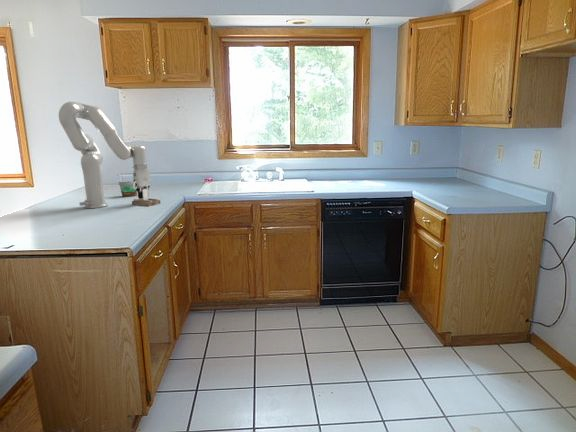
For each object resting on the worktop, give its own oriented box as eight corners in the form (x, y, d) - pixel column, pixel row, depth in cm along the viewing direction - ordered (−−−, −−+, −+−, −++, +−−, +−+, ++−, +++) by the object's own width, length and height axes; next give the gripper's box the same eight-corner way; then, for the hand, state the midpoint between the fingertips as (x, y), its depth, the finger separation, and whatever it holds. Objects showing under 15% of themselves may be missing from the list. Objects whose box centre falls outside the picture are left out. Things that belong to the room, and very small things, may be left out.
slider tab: (143, 200, 248) (142, 188, 246) (138, 200, 250) (137, 188, 248) (148, 199, 251) (147, 187, 250) (143, 199, 253) (142, 187, 251)
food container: (118, 197, 272) (117, 182, 270) (119, 196, 278) (118, 181, 276) (138, 196, 275) (137, 181, 273) (139, 195, 281) (137, 180, 279)
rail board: (149, 206, 243) (149, 201, 243) (132, 204, 249) (131, 199, 249) (160, 203, 251) (160, 198, 250) (143, 201, 257) (143, 197, 257)
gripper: (134, 168, 237) (137, 200, 241) (155, 165, 252) (158, 195, 256) (124, 168, 241) (128, 199, 245) (146, 165, 255) (149, 195, 259)
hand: (143, 197), depth 250 cm, fingers closed on slider tab, 3 cm apart
